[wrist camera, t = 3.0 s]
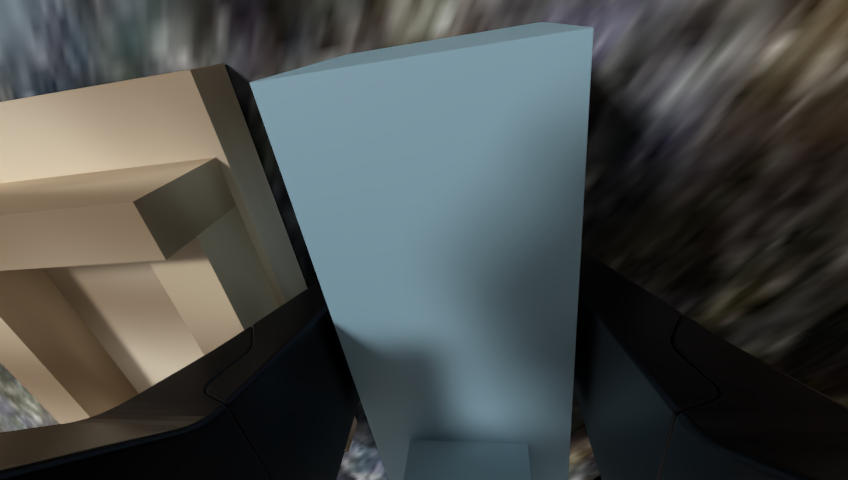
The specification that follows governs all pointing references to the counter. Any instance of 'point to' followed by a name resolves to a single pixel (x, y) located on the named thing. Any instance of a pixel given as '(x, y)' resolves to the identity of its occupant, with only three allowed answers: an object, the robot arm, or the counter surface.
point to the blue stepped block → (448, 238)
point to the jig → (132, 236)
